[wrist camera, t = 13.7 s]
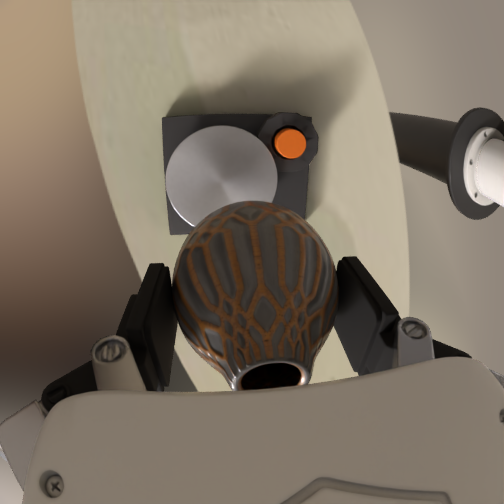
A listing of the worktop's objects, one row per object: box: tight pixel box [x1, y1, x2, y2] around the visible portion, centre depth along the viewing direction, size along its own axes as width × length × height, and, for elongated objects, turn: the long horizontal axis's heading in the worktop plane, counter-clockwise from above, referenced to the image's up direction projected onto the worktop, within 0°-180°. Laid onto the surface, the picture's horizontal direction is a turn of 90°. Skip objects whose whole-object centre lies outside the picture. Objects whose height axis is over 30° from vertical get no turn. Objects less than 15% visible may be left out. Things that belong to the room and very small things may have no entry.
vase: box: [172, 201, 339, 391], centre depth 12 cm, size 7×7×9 cm
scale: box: [162, 112, 318, 235], centre depth 27 cm, size 14×12×3 cm
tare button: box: [274, 128, 306, 158], centre depth 24 cm, size 3×3×2 cm
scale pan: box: [166, 125, 277, 227], centre depth 25 cm, size 10×10×1 cm
